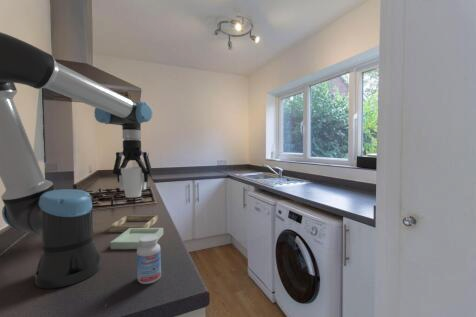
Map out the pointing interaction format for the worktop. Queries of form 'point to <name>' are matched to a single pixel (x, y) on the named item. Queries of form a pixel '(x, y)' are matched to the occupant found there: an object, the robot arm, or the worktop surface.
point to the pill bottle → (148, 259)
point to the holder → (117, 228)
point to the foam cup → (132, 181)
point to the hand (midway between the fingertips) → (133, 189)
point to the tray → (134, 237)
